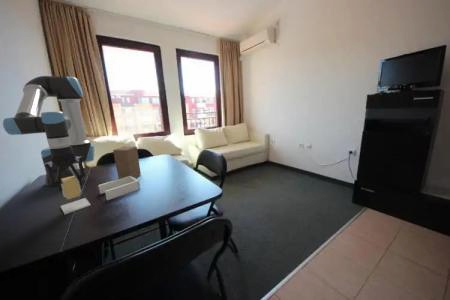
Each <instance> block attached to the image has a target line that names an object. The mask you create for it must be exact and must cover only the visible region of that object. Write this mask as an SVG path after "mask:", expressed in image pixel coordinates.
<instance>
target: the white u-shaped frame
mask: <svg viewBox="0 0 450 300" xmlns="http://www.w3.org/2000/svg"><path fill="white" fill-rule="evenodd" d="M140 186H141V185H140V180H138V179H136V177H135V178H133V177H131V176H128V177H124V178H121V179H118V178H117V179H114V180H112V181H111V180H110V181H107V182H105V183H104V182H103V183H102V184H98V186H97V187H98V191H99V194H100V195H103V194H105V198H106V200H107V201H110V200H112V199H115V198H119V197H122V196H124V195H126V194H129V193H132V192H135V191H137V190H140V189H141V187H140Z"/></svg>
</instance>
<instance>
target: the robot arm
mask: <svg viewBox="0 0 450 300" xmlns="http://www.w3.org/2000/svg"><path fill="white" fill-rule="evenodd" d="M82 89H83V88H82V86H81V84H80V82H79V79H78V78H77V77H74V76H67V75H65V76H62V75H60V76H59V75H56V76H55V75H54V76H53V75H40V76H37V77H34V78H32V79H30V80H28V81H27V82H26V83H25V84H24V86H23V88H22V92H23V96H22V98H21V101H20V103H19V106H18V107H17V110H16V112H15V115H14V117H12V116H10V117H6V118H4V119H3V121H2V126H3V128H4V131H5V132H6V133H7V134H8V135H11V136H15V135H16V136H18V135H20V136H23V135H32V134H43V133H45V137H46V140H47V144H48V147H46V148H43V149H42V150H41V151H40V155H41V159H42V164H43V166H44V170H45V178H44V184H45V186H46V187H57V189H58V191H59V192H62V196H63V198H66V193H65V189H64V185H63V183H62V181H61V179H62V178H66V177H71V176H75V177H76V178H77V182H78V186H79V190H80V194H82V189H81V186H82V185H83V181H82V179H83V178H85V177H86V173H85V170H84V165H83V163H90V162H92V161H95V145H94V143H91V141H90V140H88V138H87V134H86V129H85V124H84V119H83V116H82V110H81V106H80V102H81V100H82V97H84V92H83V90H82ZM48 98H56V100H57V101H59V102H60V103H61V108H62V110H63V111H44V112H41V111H42V107H43V104H44V100H46V99H48ZM76 164H78V168H79V172H78V171H77V169H76V167H75V165H76Z"/></svg>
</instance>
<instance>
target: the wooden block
mask: <svg viewBox="0 0 450 300" xmlns="http://www.w3.org/2000/svg"><path fill="white" fill-rule="evenodd" d="M112 151H113V156H114V162H115V168H116V172H117V177H118V178H117V180H118V179H121V178H124V177H128V176H131V177H133V178H135V179H136V178H137V177H138V176H141V173H142V172H141V166H140V160H139V154H138V153H139V151H138V147H137V146H125V145H123V146H121V147H118V148H115V149H113V150H112Z"/></svg>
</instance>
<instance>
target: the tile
mask: <svg viewBox="0 0 450 300" xmlns="http://www.w3.org/2000/svg"><path fill="white" fill-rule="evenodd" d="M90 206H92V205H91V203H90V202H89V200H88V199H87V198H86V197H84V198H81V199H78V200H73V201H72V202H68V203H65V204H63V205H60V208H61V210H62V212H63V214H64V215H67V214H70V213H73V212H76V211H78V210H81V209H85V208H87V207H90Z"/></svg>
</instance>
